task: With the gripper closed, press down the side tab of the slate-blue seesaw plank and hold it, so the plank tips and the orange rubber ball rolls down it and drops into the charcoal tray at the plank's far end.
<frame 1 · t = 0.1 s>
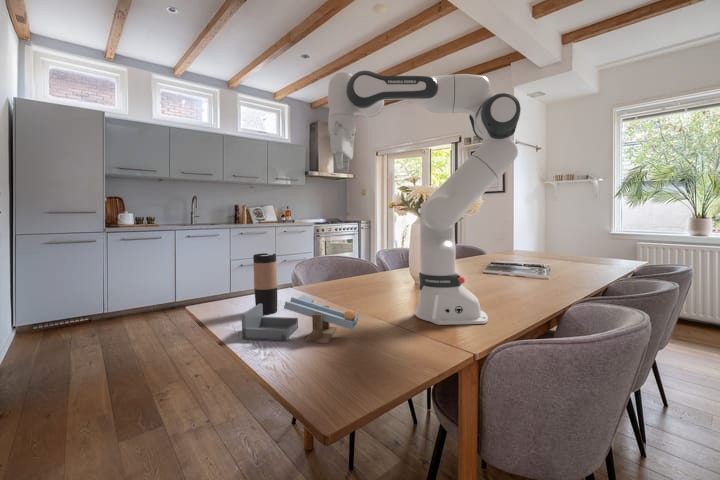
hand: (342, 170, 114), 48 cm above the table, tool pointing down, fingers open, 8 cm apart
tray: (271, 333, 99), on the table
lever: (325, 307, 99), point 7 cm above the table, hinge at -15.3°, touching ball
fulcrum: (321, 335, 97), on the table
travel mug: (266, 312, 120), on the table
ball: (349, 315, 95), point 6 cm above the table, tilted 10°, touching lever
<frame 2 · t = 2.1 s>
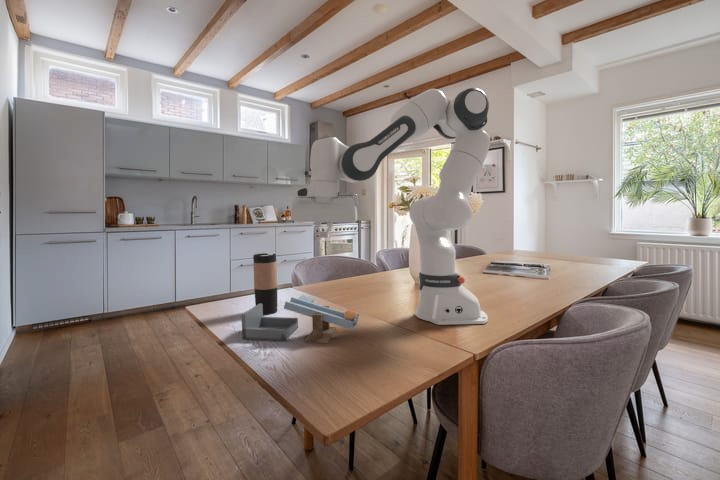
hand: (323, 237, 106), 27 cm above the table, tool pointing down, fingers closed
nothing on the table moved.
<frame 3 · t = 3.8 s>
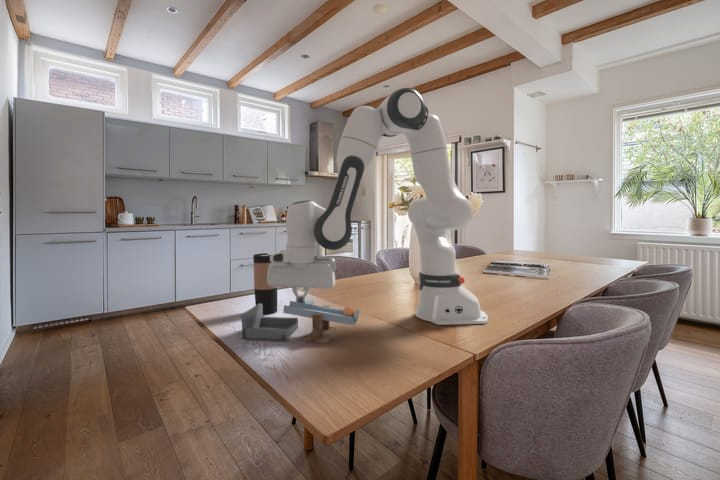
hand: (301, 301, 103), 8 cm above the table, tool pointing down, fingers closed, pressing on lever
lever: (324, 307, 100), point 7 cm above the table, hinge at -7.9°, touching ball, gripper
ball: (349, 311, 95), point 7 cm above the table, touching lever
everything else where it was.
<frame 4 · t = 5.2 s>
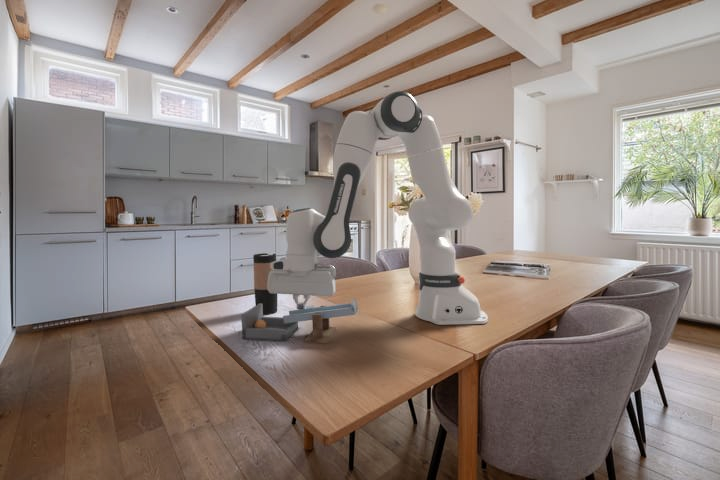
hand: (301, 309, 104), 5 cm above the table, tool pointing down, fingers closed
lever: (323, 307, 100), point 7 cm above the table, hinge at 9.0°, touching gripper
ball: (260, 325, 99), point 2 cm above the table, tilted 113°, touching tray
everything else where it was.
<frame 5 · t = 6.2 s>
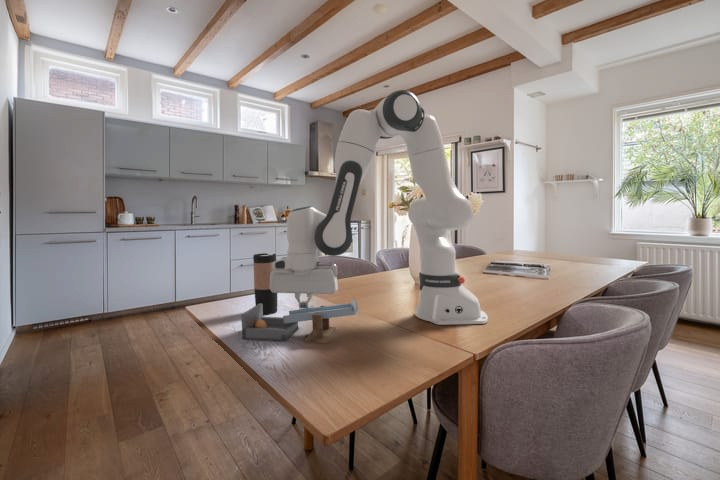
hand: (304, 307, 104), 6 cm above the table, tool pointing down, fingers closed
lever: (323, 307, 100), point 7 cm above the table, hinge at 9.0°
everything else where it was.
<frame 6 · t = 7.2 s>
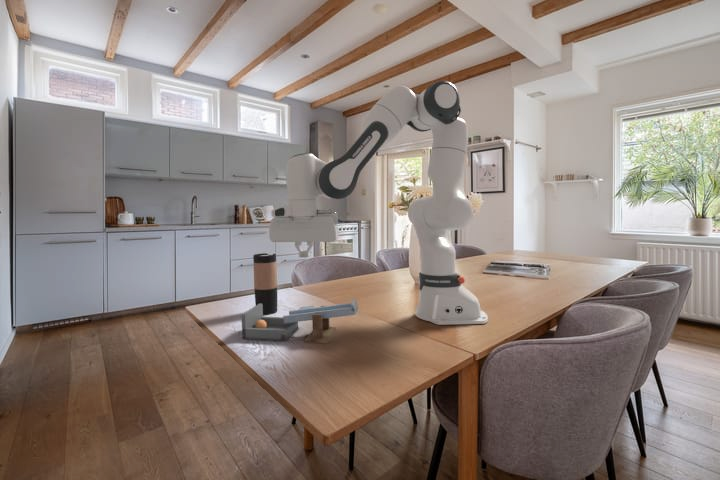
hand: (304, 257, 103), 21 cm above the table, tool pointing down, fingers closed
nothing on the table moved.
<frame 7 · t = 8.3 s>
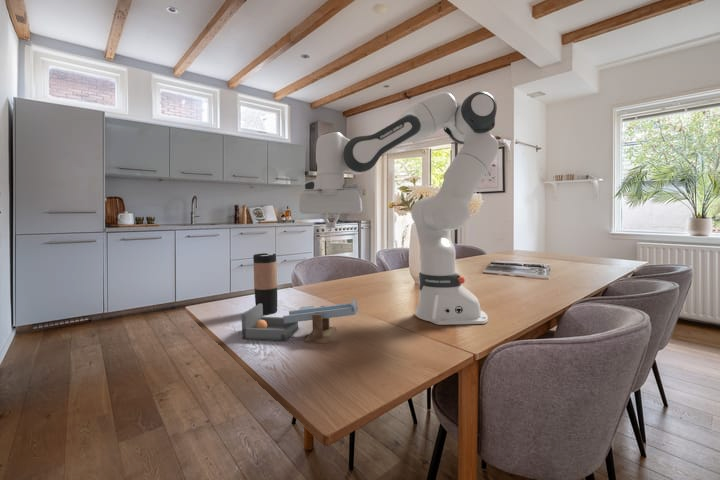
hand: (331, 227, 112), 29 cm above the table, tool pointing down, fingers closed
nothing on the table moved.
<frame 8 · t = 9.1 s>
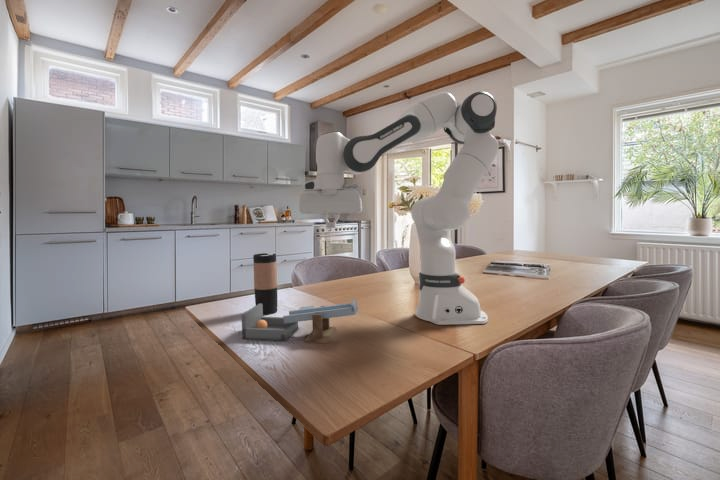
hand: (331, 227, 112), 29 cm above the table, tool pointing down, fingers closed
nothing on the table moved.
at the end: ball inside the target area on the tray (2.9 cm from its centre), point 2.2 cm above the tray's base; lever at +9° (first picture: -15°) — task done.
